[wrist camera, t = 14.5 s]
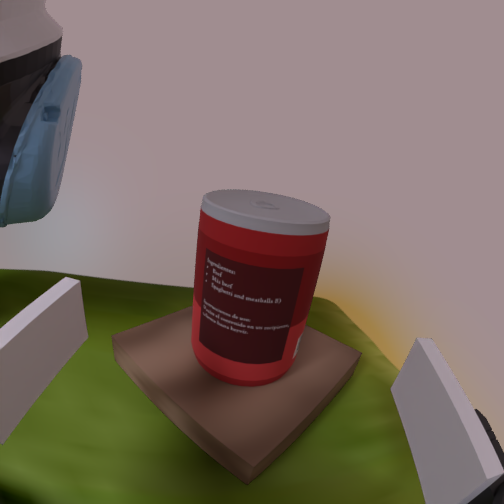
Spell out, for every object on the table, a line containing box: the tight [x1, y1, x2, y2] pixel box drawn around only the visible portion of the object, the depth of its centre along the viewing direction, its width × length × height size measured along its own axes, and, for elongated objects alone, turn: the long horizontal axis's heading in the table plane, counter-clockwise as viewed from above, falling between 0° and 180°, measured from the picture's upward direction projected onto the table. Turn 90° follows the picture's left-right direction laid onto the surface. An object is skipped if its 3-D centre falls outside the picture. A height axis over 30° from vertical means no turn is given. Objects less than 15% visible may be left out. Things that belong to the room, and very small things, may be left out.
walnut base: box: [112, 306, 362, 485], centre depth 22 cm, size 14×14×2 cm
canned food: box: [191, 190, 330, 387], centre depth 20 cm, size 8×8×11 cm
